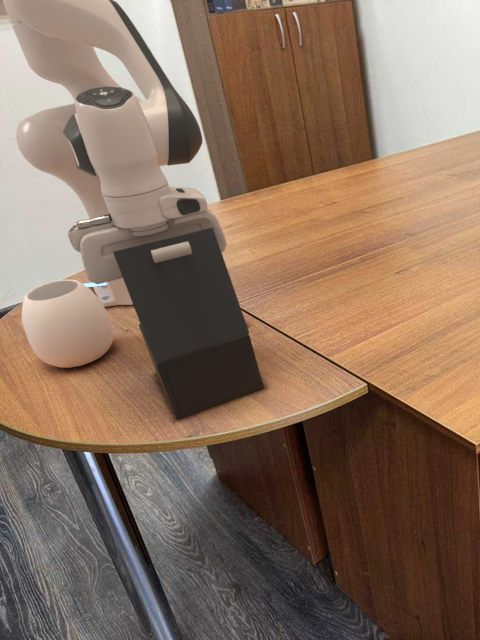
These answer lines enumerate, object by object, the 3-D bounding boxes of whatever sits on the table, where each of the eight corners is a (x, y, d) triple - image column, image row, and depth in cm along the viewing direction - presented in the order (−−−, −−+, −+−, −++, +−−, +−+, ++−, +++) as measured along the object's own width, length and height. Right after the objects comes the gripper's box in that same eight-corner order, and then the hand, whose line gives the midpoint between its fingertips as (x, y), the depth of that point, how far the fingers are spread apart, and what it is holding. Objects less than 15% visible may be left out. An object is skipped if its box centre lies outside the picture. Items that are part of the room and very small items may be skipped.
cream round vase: (30, 360, 118) (-3, 294, 111) (103, 331, 126) (77, 267, 120) (57, 385, 111) (24, 315, 104) (133, 351, 119) (107, 285, 112)
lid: (112, 251, 91) (112, 249, 87) (212, 227, 97) (216, 224, 93) (155, 362, 95) (157, 365, 90) (248, 333, 101) (254, 334, 96)
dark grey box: (157, 374, 111) (138, 324, 106) (237, 348, 117) (222, 299, 112) (176, 419, 100) (156, 365, 95) (264, 388, 106) (249, 335, 101)
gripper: (65, 230, 89) (101, 319, 96) (216, 196, 97) (239, 280, 105) (61, 218, 93) (96, 304, 100) (206, 187, 102) (228, 268, 109)
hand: (170, 291), depth 103 cm, fingers closed on block, 4 cm apart
